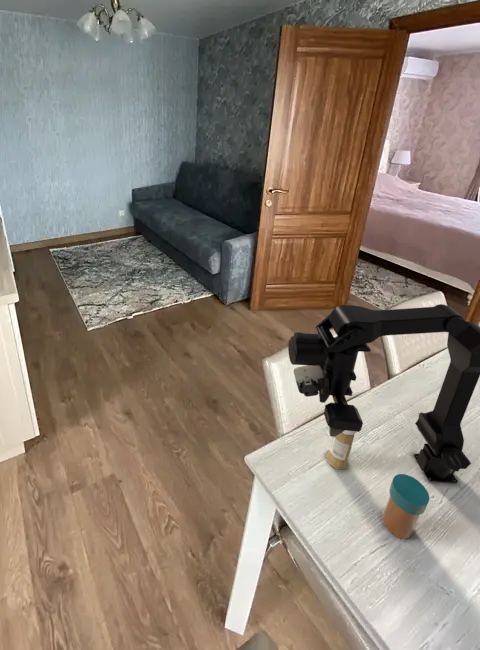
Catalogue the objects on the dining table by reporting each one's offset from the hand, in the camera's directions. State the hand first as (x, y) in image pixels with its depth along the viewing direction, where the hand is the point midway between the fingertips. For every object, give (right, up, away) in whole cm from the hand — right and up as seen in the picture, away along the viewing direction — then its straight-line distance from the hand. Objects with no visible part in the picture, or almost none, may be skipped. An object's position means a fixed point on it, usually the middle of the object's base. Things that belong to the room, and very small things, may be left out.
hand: (326, 418), depth 78 cm
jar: (+11, -18, -7) cm, 23 cm away
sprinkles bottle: (+5, -13, +6) cm, 15 cm away
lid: (+12, -11, -10) cm, 19 cm away
